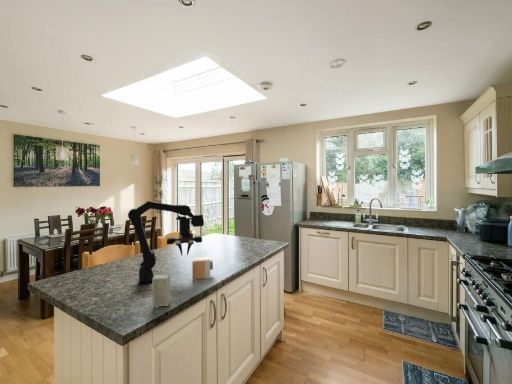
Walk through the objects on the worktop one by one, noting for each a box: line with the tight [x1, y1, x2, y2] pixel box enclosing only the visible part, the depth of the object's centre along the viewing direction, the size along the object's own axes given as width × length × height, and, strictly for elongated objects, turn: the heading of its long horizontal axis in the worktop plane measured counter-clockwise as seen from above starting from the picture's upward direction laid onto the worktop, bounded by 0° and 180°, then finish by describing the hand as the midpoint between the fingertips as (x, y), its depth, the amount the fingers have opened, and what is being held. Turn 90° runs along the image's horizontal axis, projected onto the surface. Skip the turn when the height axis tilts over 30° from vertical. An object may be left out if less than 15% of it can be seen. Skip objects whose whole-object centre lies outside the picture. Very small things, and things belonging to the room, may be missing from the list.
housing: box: [192, 256, 214, 279], centre depth 137 cm, size 10×6×10 cm, turn 106°
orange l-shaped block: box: [191, 260, 206, 282], centre depth 132 cm, size 6×4×10 cm, turn 106°
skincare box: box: [151, 274, 171, 308], centre depth 104 cm, size 6×4×12 cm
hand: (184, 255), depth 137 cm, fingers open, 3 cm apart
